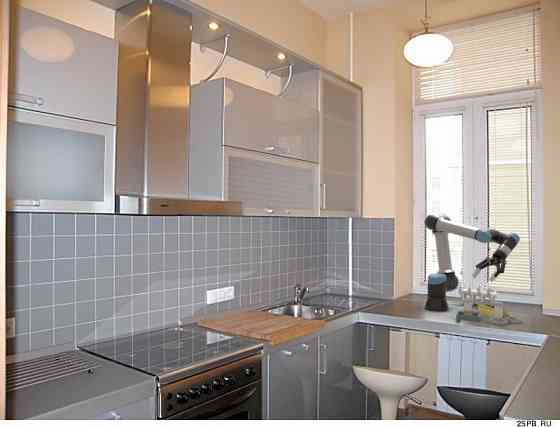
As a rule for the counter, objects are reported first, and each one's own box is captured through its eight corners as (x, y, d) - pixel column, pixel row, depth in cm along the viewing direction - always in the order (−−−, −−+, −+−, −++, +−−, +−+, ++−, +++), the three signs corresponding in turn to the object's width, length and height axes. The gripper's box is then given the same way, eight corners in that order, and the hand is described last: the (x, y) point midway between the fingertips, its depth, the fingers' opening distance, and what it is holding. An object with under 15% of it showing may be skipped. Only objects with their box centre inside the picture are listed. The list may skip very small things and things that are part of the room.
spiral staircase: (495, 314, 311) (456, 308, 321) (496, 299, 325) (458, 294, 336) (497, 291, 303) (457, 286, 314) (498, 277, 318) (459, 273, 328)
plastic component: (511, 315, 278) (499, 308, 275) (506, 326, 277) (494, 319, 274) (487, 306, 297) (476, 300, 294) (483, 316, 296) (472, 310, 293)
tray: (457, 317, 280) (457, 310, 280) (479, 319, 275) (479, 312, 275) (456, 321, 269) (456, 314, 269) (479, 323, 264) (479, 316, 264)
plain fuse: (493, 321, 262) (493, 301, 263) (502, 322, 261) (502, 301, 261) (493, 323, 258) (494, 302, 258) (503, 324, 256) (503, 303, 256)
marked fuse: (463, 317, 275) (463, 297, 275) (472, 318, 273) (472, 298, 273) (463, 319, 271) (463, 299, 271) (472, 319, 269) (472, 299, 269)
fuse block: (511, 322, 269) (511, 316, 269) (525, 325, 261) (525, 319, 261) (486, 324, 262) (486, 318, 262) (498, 328, 253) (498, 322, 253)
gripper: (521, 260, 269) (501, 286, 263) (488, 255, 292) (469, 279, 287) (515, 251, 267) (495, 277, 261) (482, 247, 290) (463, 271, 285)
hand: (481, 278), depth 274 cm, fingers open, 13 cm apart
